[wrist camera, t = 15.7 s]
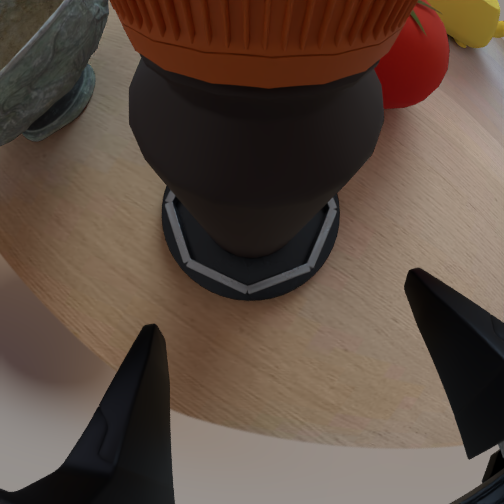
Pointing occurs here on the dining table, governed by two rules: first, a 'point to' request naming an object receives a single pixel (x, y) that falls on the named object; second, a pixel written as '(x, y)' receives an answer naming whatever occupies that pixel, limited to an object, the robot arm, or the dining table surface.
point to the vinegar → (258, 106)
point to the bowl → (46, 63)
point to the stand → (242, 268)
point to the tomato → (415, 59)
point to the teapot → (470, 20)
